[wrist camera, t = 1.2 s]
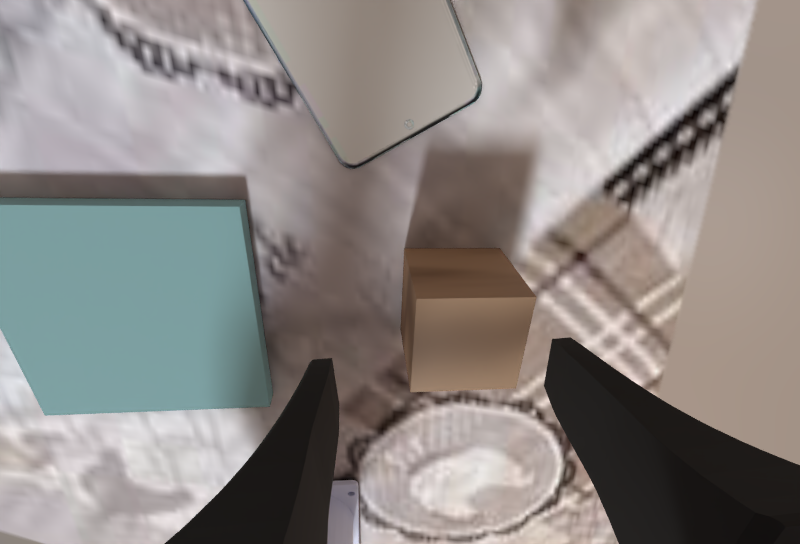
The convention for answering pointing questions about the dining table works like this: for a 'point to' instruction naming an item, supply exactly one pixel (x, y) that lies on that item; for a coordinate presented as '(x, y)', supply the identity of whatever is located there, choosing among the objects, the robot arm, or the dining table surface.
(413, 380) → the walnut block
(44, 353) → the teal square plate
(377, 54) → the smartphone
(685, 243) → the dining table surface
